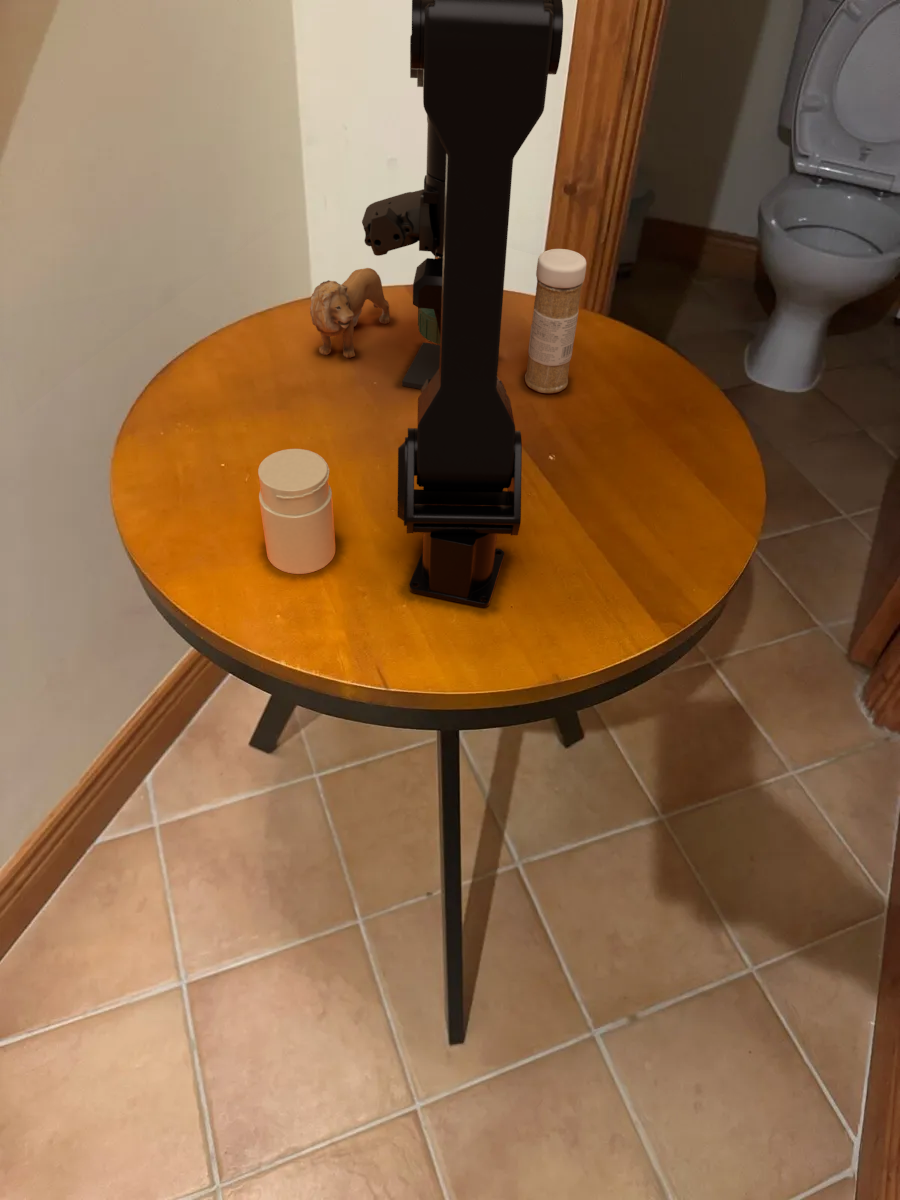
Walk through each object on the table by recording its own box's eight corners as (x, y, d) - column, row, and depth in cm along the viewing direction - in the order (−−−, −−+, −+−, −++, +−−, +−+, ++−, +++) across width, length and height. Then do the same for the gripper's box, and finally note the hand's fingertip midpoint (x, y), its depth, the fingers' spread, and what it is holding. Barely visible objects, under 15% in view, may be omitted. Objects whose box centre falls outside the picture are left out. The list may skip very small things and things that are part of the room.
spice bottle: (546, 367, 96) (563, 242, 86) (576, 386, 93) (597, 260, 84) (514, 380, 94) (528, 254, 84) (544, 400, 91) (562, 273, 81)
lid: (410, 339, 89) (410, 314, 87) (428, 308, 93) (428, 284, 91) (474, 350, 88) (476, 325, 86) (489, 319, 92) (491, 294, 90)
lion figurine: (351, 379, 92) (348, 297, 86) (303, 369, 93) (296, 287, 87) (397, 312, 102) (397, 234, 96) (353, 304, 103) (350, 226, 97)
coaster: (478, 399, 91) (478, 394, 90) (401, 386, 92) (401, 381, 92) (495, 359, 96) (495, 354, 96) (422, 346, 97) (422, 341, 97)
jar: (322, 580, 72) (315, 498, 66) (256, 566, 73) (243, 484, 67) (344, 535, 76) (340, 454, 70) (282, 522, 77) (272, 441, 71)
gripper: (381, 128, 86) (383, 283, 97) (352, 208, 73) (358, 376, 84) (497, 136, 86) (486, 290, 97) (489, 218, 73) (476, 385, 84)
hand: (451, 332), depth 91 cm, fingers closed on lid, 6 cm apart
